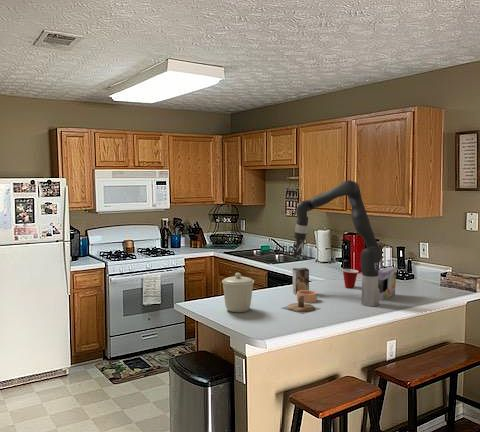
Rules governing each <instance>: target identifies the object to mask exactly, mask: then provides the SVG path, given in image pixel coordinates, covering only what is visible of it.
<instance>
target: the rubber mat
mask: <svg viewBox="0 0 480 432" xmlns="http://www.w3.org/2000/svg"><path fill="white" fill-rule="evenodd" d="M281 309H283V310H286V311H290V312H293V313H294V312H295V313H297V314H302V315H304V314H308V313H312V312H315V311H319V310H321V307H316V306H314V310H313V311H310V312H296V311H291V310H289V309H288V305H287V306H283V307H281Z"/></svg>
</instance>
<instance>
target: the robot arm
mask: <svg viewBox="0 0 480 432" xmlns="http://www.w3.org/2000/svg"><path fill="white" fill-rule="evenodd" d="M361 193H362V192H361V189H360V186H359V184H358V183H357V182H355V181H354V180H353V181H352V180H345V181H343V182H341V183H340V184H338V185H337V186H335V187H333V188H331V189H329V190H327V191H325V192H321V193H319V194H317V195H315V196H313V197H311V198H309V199H307V200H302V201H299V202H298V204H297V207H296V214H297V215H296V217H297V218H296V224H295V229H294V235H293V237H294V239H295V241H294V242H293V246H292V251H293V256H292V257H293V258H297V257H298V256H301V255H302V253H303V252H302V251H303V249H304V248H305V247H304V246H305V241H306V240H307V234H308V224H309V216H308V212H310V211H312V210H314V209H316V208H319V207H322V206H324V205H325V206H326V205H328V204H329V203H330V202H332V201H333V200H335V199H337V198H340V197H344V196H347V198H348V201H349V203H350V206H351V220H352V224H353V227H354V228H355V232H356V233H357V234H358V235H359V236H360V237H361V238H362V240H363V242H364V243H365V246H366V248H364V249H362V251H361V253H360V271H361V305H363V306H367V307H375V306H379V305H380V300H379V292H380V289H379V288H378V275H379V272H378V271H379V270H377V269H376V268H375V264H376V263H377V264H378V263H380V262H381V261H382V257H383V256H382V252H381V251H382V250H381V248H380V246H379V244H378V242H377V239H376V237H375V234H374V231H373V228H372V226H371V222H370V219H369V215H368V214H367V211H366V207H365V205H364V202H363V199H362V194H361Z"/></svg>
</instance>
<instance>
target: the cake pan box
mask: <svg viewBox="0 0 480 432" xmlns="http://www.w3.org/2000/svg"><path fill="white" fill-rule="evenodd" d="M378 272H379V275H378V288H379V289H380V292H379V301H383V300H385V299H388V298H390V297H392V296H395V295H396V283H397V267H393V266H388V267H387V268H385V267H384V268H382V269H379V270H378Z"/></svg>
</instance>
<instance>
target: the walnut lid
mask: <svg viewBox="0 0 480 432" xmlns="http://www.w3.org/2000/svg"><path fill="white" fill-rule="evenodd" d="M287 306H288V309H289V310H291V311H290V312H293V311H296V312H295V313H297V312H308V313H311V312H310V311H312V312H314V311H313V310H314V307H315V306H314V305H312V304H309V303H305V302H304V296H302V295H300V296H298V301H297V302H295V303H289V304H287ZM289 310H288V311H289Z"/></svg>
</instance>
